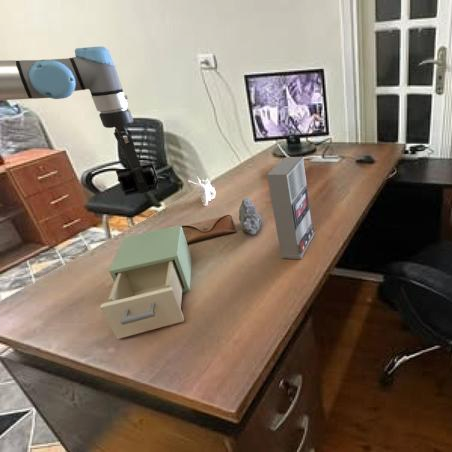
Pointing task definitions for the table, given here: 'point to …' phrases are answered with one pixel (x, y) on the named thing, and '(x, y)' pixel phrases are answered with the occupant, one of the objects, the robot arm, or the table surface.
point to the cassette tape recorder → (291, 207)
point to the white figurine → (204, 191)
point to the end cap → (129, 183)
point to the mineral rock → (249, 217)
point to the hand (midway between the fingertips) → (142, 188)
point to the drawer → (145, 299)
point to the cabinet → (154, 252)
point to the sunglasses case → (209, 229)
